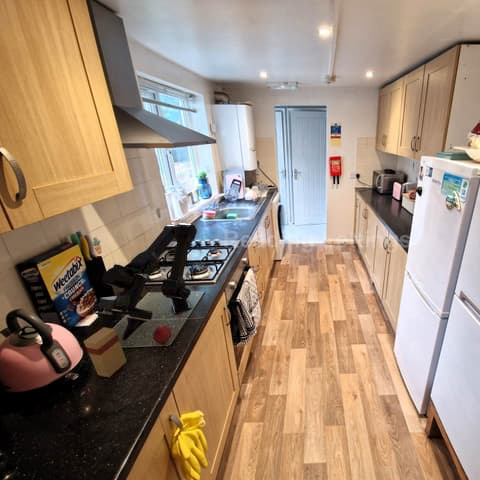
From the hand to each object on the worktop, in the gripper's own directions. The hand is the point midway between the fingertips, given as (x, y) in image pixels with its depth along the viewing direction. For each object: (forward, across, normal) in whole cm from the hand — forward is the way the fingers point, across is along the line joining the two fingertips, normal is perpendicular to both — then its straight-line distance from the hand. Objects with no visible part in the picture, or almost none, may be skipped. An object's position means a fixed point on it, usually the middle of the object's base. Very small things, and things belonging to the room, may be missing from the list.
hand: (112, 338), depth 87 cm
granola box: (+9, 0, +5) cm, 10 cm away
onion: (0, +8, +15) cm, 17 cm away
